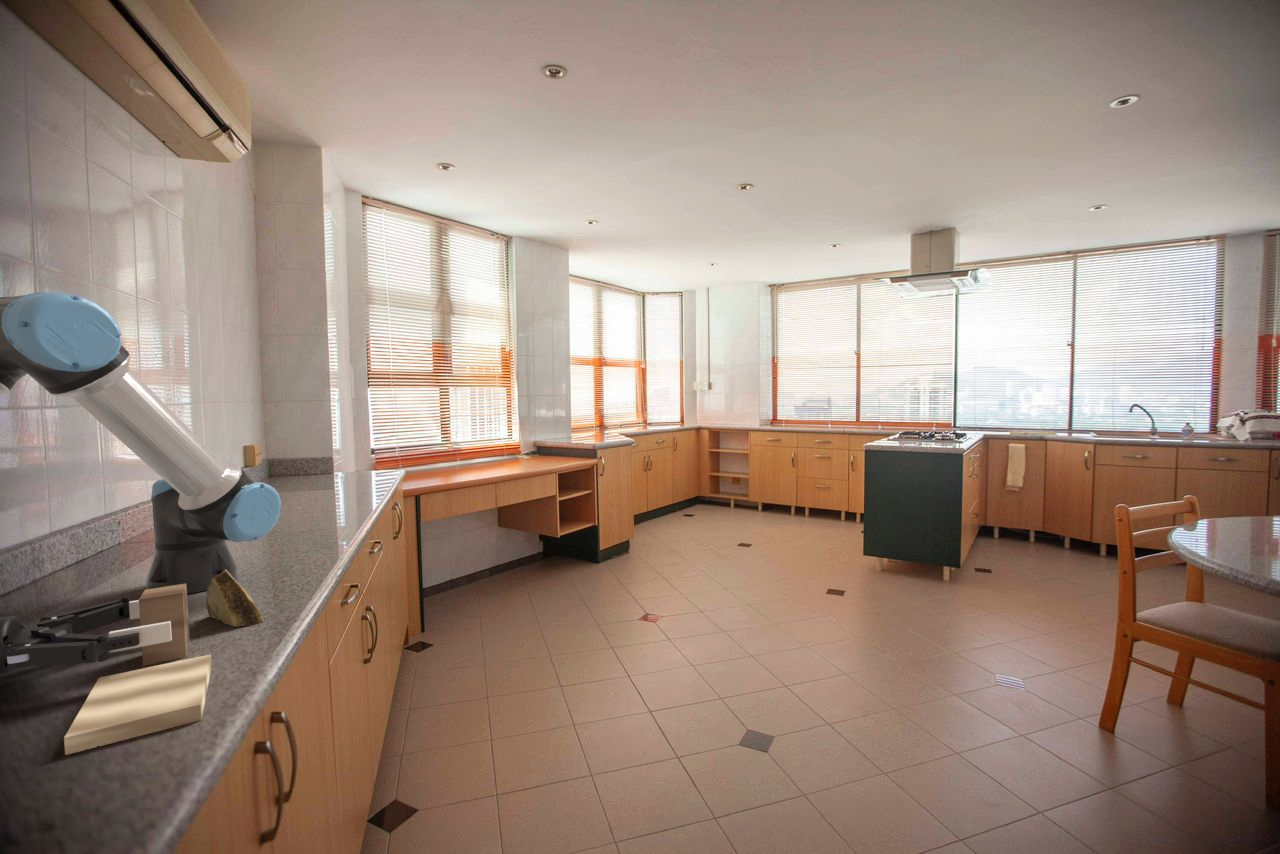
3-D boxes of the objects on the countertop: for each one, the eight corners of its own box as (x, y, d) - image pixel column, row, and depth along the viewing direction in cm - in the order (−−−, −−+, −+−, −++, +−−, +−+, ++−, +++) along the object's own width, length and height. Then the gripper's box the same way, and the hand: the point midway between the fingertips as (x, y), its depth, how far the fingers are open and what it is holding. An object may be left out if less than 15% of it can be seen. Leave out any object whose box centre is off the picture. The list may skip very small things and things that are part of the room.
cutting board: (100, 691, 76) (99, 677, 76) (211, 667, 83) (210, 654, 83) (65, 755, 63) (63, 737, 63) (201, 720, 70) (200, 704, 69)
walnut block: (148, 652, 88) (144, 589, 87) (189, 644, 91) (186, 583, 90) (143, 665, 84) (138, 599, 83) (186, 657, 86) (182, 592, 86)
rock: (188, 606, 101) (183, 616, 93) (222, 562, 104) (220, 568, 96) (248, 631, 106) (249, 643, 97) (279, 588, 109) (282, 596, 101)
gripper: (10, 643, 86) (187, 613, 98) (-71, 723, 66) (166, 672, 77) (6, 595, 86) (185, 570, 97) (-77, 660, 65) (163, 618, 77)
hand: (177, 615), depth 87 cm, fingers open, 13 cm apart
